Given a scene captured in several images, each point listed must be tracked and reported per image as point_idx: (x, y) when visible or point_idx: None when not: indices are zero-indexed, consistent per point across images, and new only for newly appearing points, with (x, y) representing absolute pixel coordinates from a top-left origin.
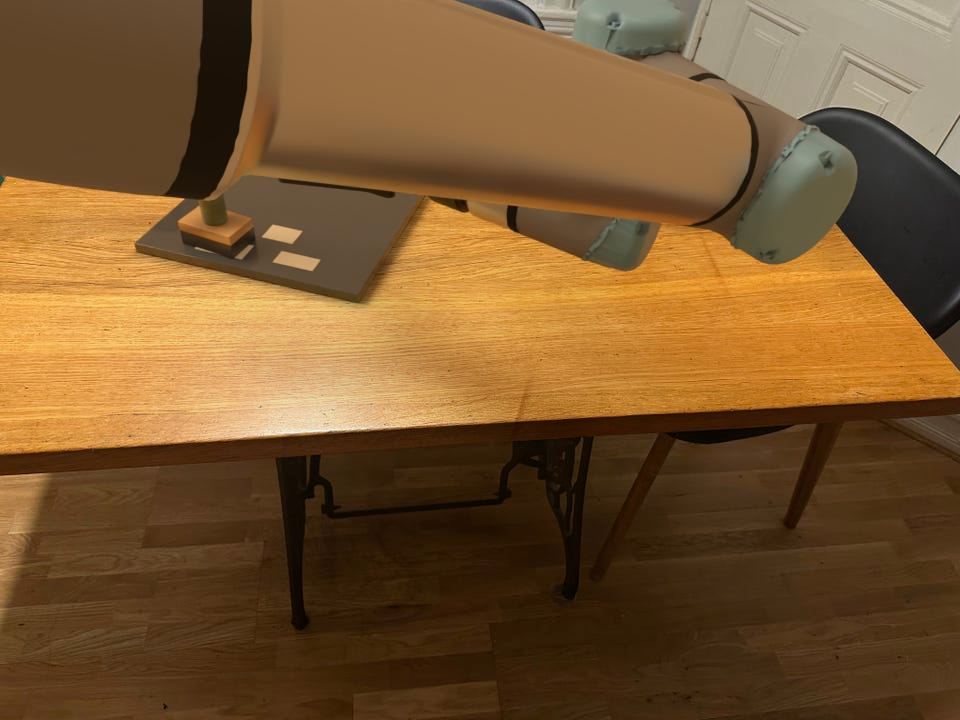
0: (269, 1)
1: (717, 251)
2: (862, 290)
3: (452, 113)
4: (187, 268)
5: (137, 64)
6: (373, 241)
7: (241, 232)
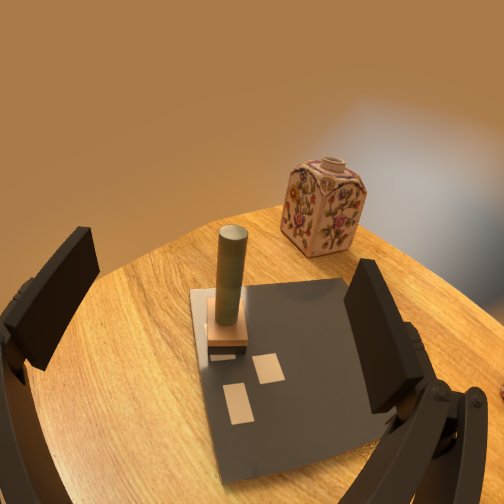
0: None
1: None
2: None
3: None
4: (187, 331)
5: None
6: (319, 443)
7: (227, 343)
